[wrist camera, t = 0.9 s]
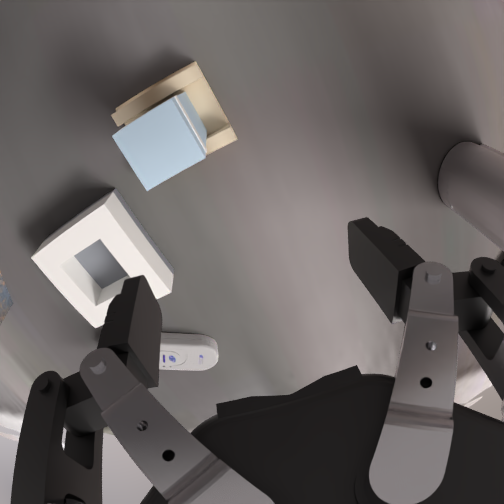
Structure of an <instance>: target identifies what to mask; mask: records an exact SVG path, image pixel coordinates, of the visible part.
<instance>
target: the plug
mask: <svg viewBox="0 0 504 504" xmlns="http://www.w3.org/2000/svg"><path fill="white" fill-rule="evenodd" d="M112 137H113V139H114V140H115V142H116V143H117V145H118V147H119V148H120V150H121V151H122V153H123V155H124V156H125V158H126V159H127V161H128V162H129V164H130V166H131V167H132V169H133V170H134V172H135V173H136V175H137V176H138V178H139V180H140V181H141V183H142V184H143V186H144V187H145V189H146V190H147V191H148V190H150V189H151V188H153V187H155V186H156V185H158V184H160V183H162V182H163V181H165V180H167V179H169V178H170V177H172V176H174V175H176V174H177V173H179V172H181V171H183V170H185V169H186V168H188V167H190V166H192V165H194V164H195V163H197V162H199V161H201V160H203V159H205V158H206V153H207V148H206V137H207V129H206V128H205V126H204V124H203V122H202V120H201V119H200V117H199V115H198V113H197V112H196V110H195V108H194V106H193V104H192V103H191V101H190V99H189V97H188V96H187V94H186V92H183V93H181V94H179V95H176V96H174V97H172V98H170V99H169V100H167V101H165V102H163V103H162V104H160V105H158V106H157V107H155V108H153V109H152V110H150V111H148V112H147V113H145V114H143V115H142V116H140V117H139V118H137V119H136V120H134V121H132V122H131V123H129V124H128V125H126V126H125V127H123V128H122V129H120V130H119V131H118V132H117V133H116V134H114V135H113V136H112Z"/></svg>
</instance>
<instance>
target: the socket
mask: <svg viewBox="0 0 504 504" xmlns="http://www.w3.org/2000/svg"><path fill="white" fill-rule="evenodd" d="M31 258H32V259H33V261H34V262H35V263H36V264H37V266H38V267H39V268H40V269H41V270H42V272H43V273H44V274H45V275H46V276H47V277H48V279H49V280H50V281H51V282H52V283H53V284H54V285H55V287H56V288H57V289H58V290H59V291H60V292H61V293H62V294H63V295H64V297H65V298H66V299H67V300H68V301H69V302H70V303H71V304H72V305H73V306H74V307H75V308H76V309H77V310H78V311H79V312H80V314H81V315H82V316H83V317H84V318H85V319H86V320H87V321H88V322H89V323H90V324H91V325H92V326H93V327H94V328H97V327H99V326H102V325H103V324H105V323H104V320H105V317H106V316H107V314H106V313H107V310H108V306H109V304H110V302H111V301H112V300H113V298H114V297H115V296H116V295H117V294H121V290H122V287H123V283H124V280H125V279H128V278H132V277H136V276H140V275H144V276H145V277H146V279H147V281H148V283H149V285H150V287H151V290H152V292H153V294H154V296H155V298H156V299H159V298H161V297H163V296H165V295H167V294H169V293H171V291H172V283H173V275H174V269H173V267H172V266H171V265H170V263H169V262H168V261H167V259H166V258H165V257H164V255H163V254H162V253H161V251H160V250H159V249H158V247H157V246H156V244H155V243H154V242H153V240H152V239H151V238H150V236H149V235H148V233H147V232H146V231H145V229H144V228H143V226H142V225H141V224H140V222H139V221H138V219H137V218H136V217H135V215H134V214H133V212H132V211H131V209H130V208H129V207H128V205H127V204H126V202H125V201H124V199H123V198H122V196H121V195H120V193H119V192H118V191H117V189H116V188H115V189H114V190H112V191H111V192H109V193H108V194H106V195H105V196H103V197H102V198H100V199H99V200H97V201H96V202H94V203H93V204H92V205H90V206H89V207H87V208H86V209H84V210H83V211H82V212H80V213H79V214H77V215H76V216H75V217H73V218H72V219H71V220H69V221H68V222H67V223H65V224H64V225H63V226H61V227H60V228H59V229H57V230H56V231H55V232H53V233H52V234H51V235H50V236H48V237H47V238H46V239H45V240H44V241H43V243H42V244H41V245H40V247H39V248H38V249H37V250H36V252H35V253H34V254H33V256H32V257H31Z"/></svg>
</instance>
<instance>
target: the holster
mask: <svg viewBox="0 0 504 504" xmlns="http://www.w3.org/2000/svg"><path fill="white" fill-rule="evenodd" d="M183 92H186V94H187V96H188V97H189V99H190V101H191V103H192V104H193V106H194V108H195V110H196V112H197V113H198V115H199V117H200V119H201V120H202V122H203V124H204V126H205V128H206V129H207V137H206V148H207V153H206V155H208V154H210V153H212V152H214V151H216V150H217V149H219V148H221V147H223V146H225V145H227V144H229V143H231V142H233V141H235V140H237V139H238V138H237V136H236V134H235V133H234V131H233V129H232V127H231V125H230V123H229V121H228V119H227V117H226V116H225V114H224V112H223V110H222V108H221V106H220V104H219V103H218V101H217V99H216V97H215V95H214V93H213V92H212V90H211V88H210V86H209V84H208V82H207V81H206V79H205V77H204V75H203V73H202V72H201V70H200V68H199V66H198V64H197V63H196V61H195V62H193V63H191V64H189V65H187V66H186V67H184V68H182V69H180V70H178V71H176V72H174V73H173V74H171V75H169V76H167V77H166V78H164V79H162V80H160V81H159V82H157V83H155V84H153V85H152V86H150V87H149V88H147V89H145V90H144V91H142V92H140V93H139V94H137V95H136V96H134V97H132V98H131V99H129V100H128V101H126V102H125V103H123V104H122V105H120V106H119V107H117V108H116V112H115V113H114V114H112V115H111V116H112V118H113V119H114V121H115V123H116V124H117V126H118V127H119V126H120V125H122V124H125V126H126V125H128V124H129V123H131V122H132V121H134V120H136V119H137V118H139V117H140V116H142V115H143V114H145V113H147V112H148V111H150V110H152V109H153V108H155V107H157V106H158V105H160V104H162V103H163V102H165V101H167V100H169V99H170V98H172V97H174V96H176V95H179V94H181V93H183Z"/></svg>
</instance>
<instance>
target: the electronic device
mask: <svg viewBox="0 0 504 504" xmlns="http://www.w3.org/2000/svg"><path fill="white" fill-rule="evenodd" d="M217 361H218V348H217V343H216V341H215V340H214V339H213V338H211V337H209V336H206V335H202V334H183V333H162V332H161V344H160V361H159V369H167V370H198V371H202V370H206V369H209V368H211V367H213V366H214V365H215V364H216V363H217Z"/></svg>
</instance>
